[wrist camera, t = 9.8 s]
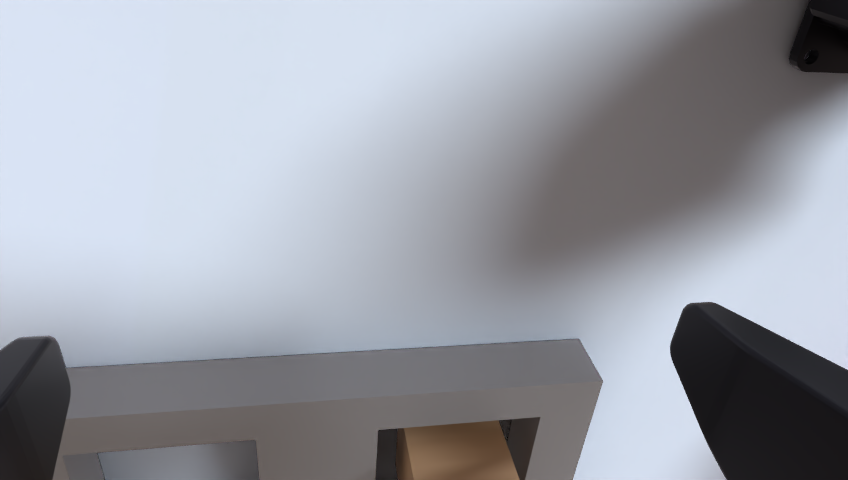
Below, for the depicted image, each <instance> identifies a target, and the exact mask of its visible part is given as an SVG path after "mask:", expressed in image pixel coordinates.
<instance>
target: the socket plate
mask: <svg viewBox="0 0 848 480" xmlns="http://www.w3.org/2000/svg"><path fill="white" fill-rule="evenodd" d="M66 370H67V373H68V376H69V380H70V385H71V397H70V403H69V408H68V412H67V417H66V421H65V426H64V430H63V435H62V439H61V444H60V448H59V453H58V458H57V462H56V467H55V471H54V476H53V480H105V479H104V475H103V472H102V468H101V465H100V461H99V458H98V454H97V453H100V452H112V451H124V450H137V449H149V448H162V447H174V446H186V445H199V444H211V443H224V442H236V441H248V440H256V449H257V460H258V471H259V480H375V477H376V459H377V442H378V430H385V429H397V428H409V427H422V426H434V425H447V424H459V423H471V422H484V421H496V420H509V419H512V421H511V426H510V430H509V435H508V440H507V446H508V448H509V451H510V454H511V457H512V460H513V463H514V465H515V468H516V471H517V474H518V477H519V479H520V480H573V477H574V474H575V470H576V467H577V464H578V461H579V458H580V454H581V451H582V448H583V445H584V441H585V438H586V435H587V432H588V428H589V425H590V422H591V419H592V415H593V412H594V409H595V406H596V402H597V399H598V396H599V393H600V389H601V386H602V383H603V380H602V378H601V376H600V375H599V373H598V371H597V370H596V368H595V366H594V364H593V363H592V361H591V359H590V357H589V356H588V354H587V352H586V350H585V349H584V347H583V345H582V343H581V342H580V340H579V339H569V340H551V341H534V342H516V343H499V344H481V345H464V346H446V347H429V348H411V349H393V350H376V351H358V352H341V353H323V354H306V355H288V356H271V357H253V358H236V359H218V360H200V361H183V362H165V363H148V364H130V365H113V366H95V367H78V368H66Z"/></svg>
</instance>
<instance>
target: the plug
mask: <svg viewBox="0 0 848 480" xmlns="http://www.w3.org/2000/svg"><path fill="white" fill-rule="evenodd" d="M395 465H396V471H397V477H398V480H520V479H519V477H518V474H517V471H516V468H515V465H514V463H513V460H512V457H511V454H510V451H509V448H508V446H507V443H506V440H505V437H504V434H503V431H502V429H501V426H500V423H499V420H496V421H484V422H471V423H459V424H447V425H434V426H422V427H409V428H398V431H397V446H396V462H395Z"/></svg>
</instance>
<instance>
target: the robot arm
mask: <svg viewBox="0 0 848 480" xmlns="http://www.w3.org/2000/svg"><path fill="white" fill-rule="evenodd" d="M810 50H811V51H810ZM809 51H810V55H809V56H808V58H806V59H805V60H804V57H805V55H806V54H807V52H809ZM789 61H790V64H791V65H792V67H794V68H796V69H798V70H801V71H804V72H827V73H848V0H810V2H809V5H808V7H807V10H806V13H805V15H804V18H803V21H802V23H801V26H800V29H799V31H798V34H797V36H796V39H795V42H794V44H793V47H792V50H791V52H790V57H789ZM670 353H671V358H672V361H673V363H674V366H675V368H676V371H677V373H678V375H679V378H680V380H681V382H682V385H683V387H684V390H685V392H686V394H687V397H688V399H689V402H690V404H691V406H692V409H693V411H694V414H695V416H696V418H697V421H698V423H699V426H700V428H701V430H702V433H703V435H704V437H705V439H706V441H707V444H708V446H709V448H710V450H711V452H712V454H713V455H714V457H715V459H716V461H717V463H718V465H719V467H720V469H721V470H722V472H723V474H724V476H725V478H726V480H848V370H847V369H845V368H843V367H841V366H839V365H837V364H835V363H833V362H831V361H829V360H827V359H825V358H823V357H821V356H819V355H817V354H815V353H813V352H811V351H809V350H807V349H805V348H803V347H801V346H799V345H797V344H795V343H793V342H791V341H790V340H788V339H786V338H784V337H782V336H780V335H778V334H776V333H774V332H772V331H770V330H768V329H766V328H764V327H762V326H760V325H758V324H756V323H754V322H752V321H750V320H748V319H746V318H744V317H742V316H740V315H738V314H736V313H734V312H732V311H730V310H728V309H726V308H724V307H722V306H720V305H718V304H716V303H713V302H701V303H690V304H688V305H686V306H685V308H684V309H683V311H682V313H681V316H680V319H679V321H678V324H677V327H676V330H675V332H674V335H673V338H672V341H671V345H670ZM70 397H71V385H70V380H69V376H68V373H67V370H66V366H65V363H64V360H63V356H62V353H61V350H60V346H59V344H58V342H57V340H56V339H55V338H53V337H51V336H33V337H21V338H18V339H16V340H14V341H12V342H11V343H10V344H8V345H7V346H5V347H4V348H2V349H1V350H0V480H53V476H54V471H55V467H56V462H57V458H58V453H59V448H60V444H61V439H62V435H63V430H64V426H65V421H66V417H67V412H68V408H69V403H70Z"/></svg>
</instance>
